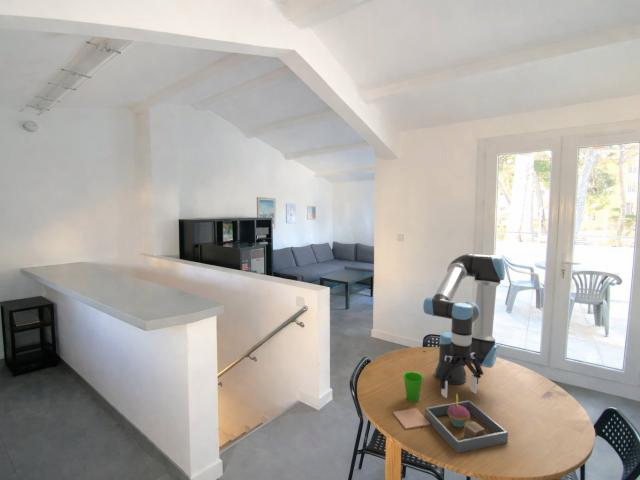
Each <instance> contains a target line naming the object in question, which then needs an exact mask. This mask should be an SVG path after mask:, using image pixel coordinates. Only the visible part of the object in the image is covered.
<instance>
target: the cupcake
mask: <svg viewBox="0 0 640 480" xmlns="http://www.w3.org/2000/svg"><path fill="white" fill-rule="evenodd" d="M455 398H456V399H455V401H456V402H455V403H456V404H457V405H456V404H454V405H452V406H450V407H449V408H448V411H447V414H446V415H448V417H449V419H450V421H451V424H452V425H453V426H455V427H458V428H462V427H463V428H464V425H465V424H466V421H469V420H470V418H471V412H470V411H469V410H467V409H466V408H465V407H463V406H461V405H458V402H459V395H458V394H455Z"/></svg>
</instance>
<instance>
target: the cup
mask: <svg viewBox="0 0 640 480" xmlns="http://www.w3.org/2000/svg"><path fill="white" fill-rule="evenodd" d="M402 378H403V379H404V382H403V383H404V387H405V393H406V394H405V396H406V399H407V400H408V401H409V402H411V403H417V402H419V399H420V394H421V389H422V386H423V380H424V375H422V374H421V373H419V372H417V371H406V372H404V373H403V374H402Z"/></svg>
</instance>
